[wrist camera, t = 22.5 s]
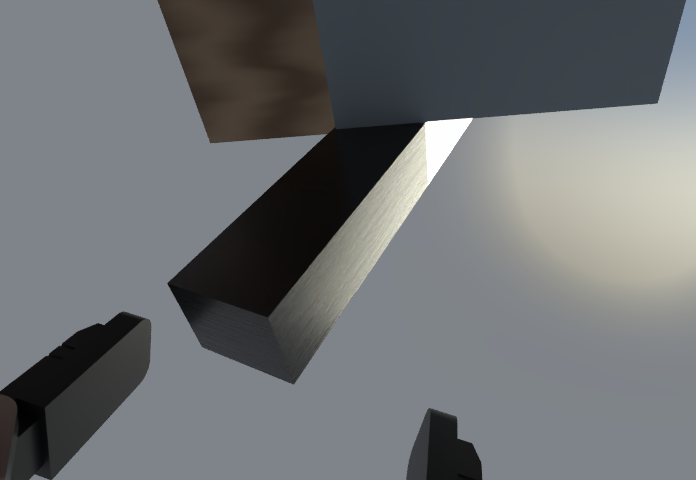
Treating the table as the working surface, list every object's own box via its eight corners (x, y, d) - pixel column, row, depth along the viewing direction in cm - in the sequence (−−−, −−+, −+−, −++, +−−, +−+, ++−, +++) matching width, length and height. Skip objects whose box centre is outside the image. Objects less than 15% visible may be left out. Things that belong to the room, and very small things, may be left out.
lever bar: (267, 317, 10) (293, 384, 11) (526, -2, 25) (522, 44, 27) (167, 283, 11) (202, 347, 12) (470, 0, 26) (470, 44, 28)
